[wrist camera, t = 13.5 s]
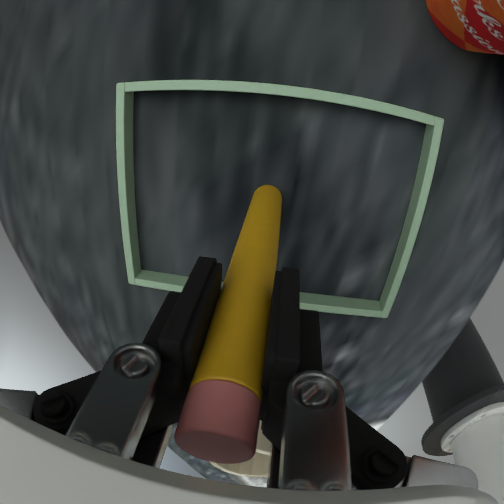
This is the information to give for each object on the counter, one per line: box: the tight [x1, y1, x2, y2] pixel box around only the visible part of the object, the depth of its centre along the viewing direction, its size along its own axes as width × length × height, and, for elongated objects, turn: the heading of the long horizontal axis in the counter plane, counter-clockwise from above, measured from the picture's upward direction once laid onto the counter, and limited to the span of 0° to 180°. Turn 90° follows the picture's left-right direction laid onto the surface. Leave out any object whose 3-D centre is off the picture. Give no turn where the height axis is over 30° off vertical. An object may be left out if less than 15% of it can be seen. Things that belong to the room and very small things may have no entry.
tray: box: [116, 80, 444, 318], centre depth 19 cm, size 19×14×2 cm
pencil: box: [174, 185, 282, 464], centre depth 13 cm, size 2×2×16 cm
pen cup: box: [209, 420, 271, 477], centre depth 24 cm, size 6×6×10 cm
